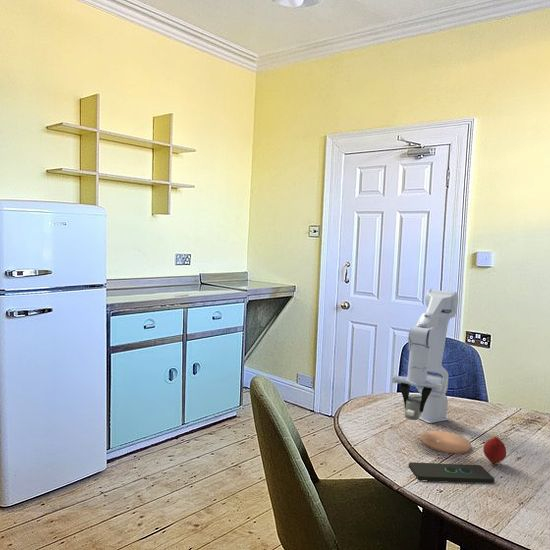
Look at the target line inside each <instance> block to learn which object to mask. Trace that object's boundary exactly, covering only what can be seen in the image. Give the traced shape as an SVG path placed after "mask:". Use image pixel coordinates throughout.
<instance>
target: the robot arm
mask: <svg viewBox="0 0 550 550" xmlns="http://www.w3.org/2000/svg"><path fill="white" fill-rule="evenodd" d="M424 301H425V302H424V303H425V306H426V311H425V312H423V313H422V314H421V315H420V316H419V318H418V320H417V322H416V324H415V326H413V327H410V328H409V332H408V334H407V335H408V338H407V342H408V347H407V349H408V351H409V355H408V365H407V376H400V375H393V376H392V377H391V383H392V384H399V390H400V392H401V395H402V399H403V403H404V404H403V405H404V409H406V400H407V399H408V397H409V396H410V391H411V386H412V387H415V388H416V389H417V390H418V391H417V392H419V395H421V396H422V399H421V407H420V412H422V414H421V415H420V417H419V419H418V420H421V421H423V422H425V423H428V424H432V423H437V422H443V421H448V420H449V418H448V417H447V413H448V403H449V402H448V401H449V399H448V397H447V395H446V393H447V391H448V388H449V387H448V386H449V372H448V371H447V369H445V367H443V365H442V363H443V358H444V351H445V344H446V338H447V332H448V327H449V322H450V319H451V318H452V319H453V318H455V317H456V314H457V312H458V304H459V294H458V293H457V291H445V290H437V289H431V288H429V289H428V290H427V292H426V294H425V300H424Z"/></svg>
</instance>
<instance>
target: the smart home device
mask: <svg viewBox="0 0 550 550" xmlns="http://www.w3.org/2000/svg"><path fill="white" fill-rule="evenodd" d="M408 468H410V469H411V470H410V469H409V470H410V471H411V473H412V472H413V473H412V474H413V476H414V477H415V476H416V477H415V478H416V479H418V480H417V481H419V480H427V481H426V482H439V481H445V482H446V481H447V482H446V483H470V484H471V483H474V484H475V483H476V484H495V477H494V476H492V475H491V473H489V471H487V470H486V469H485V468H484V467H483V466H482V465H480V464H466V463H465V464H464V463H463V464H461V463H439V462H411V461H410V462H409V463H408Z"/></svg>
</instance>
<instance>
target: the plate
mask: <svg viewBox="0 0 550 550" xmlns="http://www.w3.org/2000/svg"><path fill="white" fill-rule="evenodd" d="M421 442H422V444H424V445H425V446H427V447H428V448H430V449H432V450H435V451H438V452H441V453H446V454H447V453H448V454H454V455H455V454H457V455H458V454H459V455H460V454H467V453H468V452H470V451H471V448H472V443H471V442H470V440H468V439H467V438H465V437H463V436H462V435H459V434H457V433H452V432H450V431H444V430H428V431H425V432H423V433H422V434H421Z"/></svg>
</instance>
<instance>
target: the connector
mask: <svg viewBox="0 0 550 550" xmlns="http://www.w3.org/2000/svg"><path fill="white" fill-rule="evenodd" d="M421 399H422V396H421V395H420V394H413V393H412V394H409V397H408V399H407V400H406V409H405V408H404V409H405V413H404V418H406V419H407V420H412V421H417V420H420V419H419V417H420V415H421V414H422V412H420V407H421Z"/></svg>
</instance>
